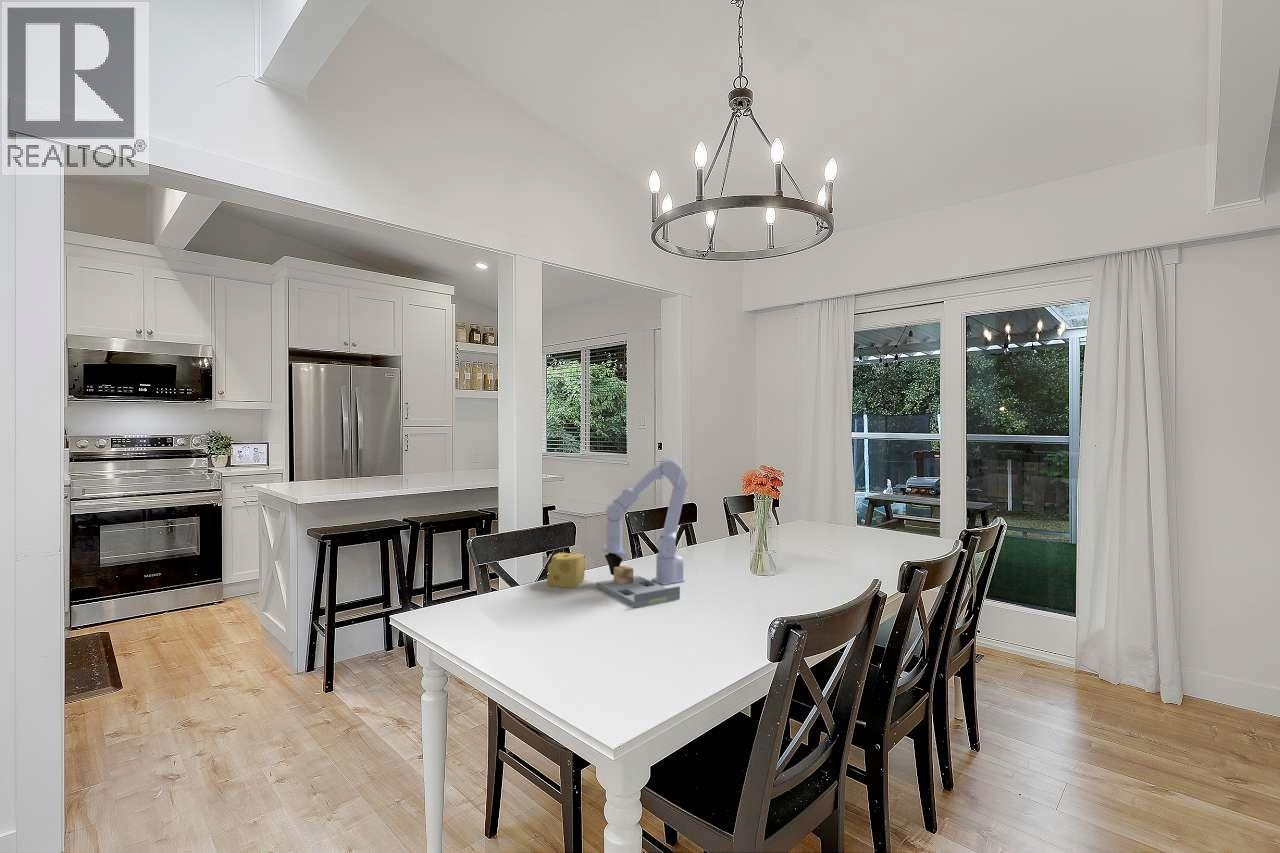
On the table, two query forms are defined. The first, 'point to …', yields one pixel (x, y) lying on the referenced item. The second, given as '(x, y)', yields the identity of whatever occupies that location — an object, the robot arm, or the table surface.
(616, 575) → the oak block
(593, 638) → the table surface
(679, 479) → the robot arm
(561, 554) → the cheese
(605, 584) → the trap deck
